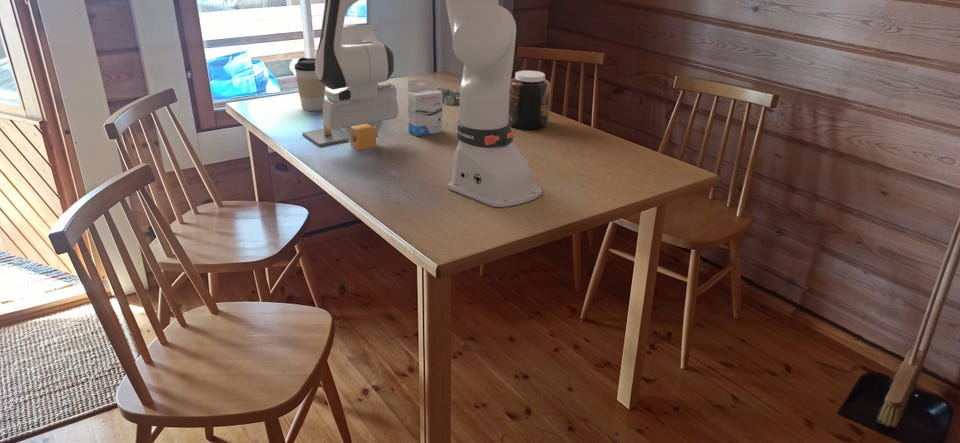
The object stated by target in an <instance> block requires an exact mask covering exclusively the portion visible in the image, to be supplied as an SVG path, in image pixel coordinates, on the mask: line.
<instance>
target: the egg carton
mask: <svg viewBox="0 0 960 443" xmlns="http://www.w3.org/2000/svg"><path fill="white" fill-rule="evenodd" d="M435 89H437V90H440V91H442V103H444V105H446V106H447V105H450V106H453V105H455V104H460V90H455V89H454V90H452V89H449V88H447V87H446V88H444V87H441V88H437V87H436V88H435Z"/></svg>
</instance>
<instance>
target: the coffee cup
mask: <svg viewBox="0 0 960 443" xmlns="http://www.w3.org/2000/svg"><path fill="white" fill-rule="evenodd" d="M315 60H316V57H315V58H314V57H313V58H312V57H309V58H308V57H300V58H298V60H297V63H295V64H294V70H295V75H296V76H295V78H296V83H297V89H298V93H299V94H298V95H299V98H300V99H299V100H300V103H301V109H302V111H306V112H316V111H323V104H324V101H325V100H326V98H325V97H326V96H325V94H324V90H325V89H326V86H325V85H323V84H322V83H321V82H320V81H319V80H318V78H317V75H316V71H315Z"/></svg>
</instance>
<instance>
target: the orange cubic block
mask: <svg viewBox="0 0 960 443" xmlns="http://www.w3.org/2000/svg"><path fill="white" fill-rule="evenodd" d="M351 128H352V130H350V132H351V134H354V135H355V136H356V142H352V143H350V145H351V146H352V147H354V148H355V149H357V150H358V151H361V150H367V149H372V148H376V147H377V138H376V128H374V126H373V125H370V124H369V123H367V124H362V125H356V126H351Z"/></svg>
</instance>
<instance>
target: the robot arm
mask: <svg viewBox="0 0 960 443" xmlns="http://www.w3.org/2000/svg"><path fill="white" fill-rule="evenodd" d="M358 1H360V0H325V1H324V7H323V8H324V9H323V16H322V23H321V30H320V37H319V43H318V47H317V50H316V55H315V59H316V60H315V71H316V75H317V78H318V80H319V81H320V82H321V83H322V84H323V85H325V90H324V94H325V97H326V98H325V101H324V104H323V109H322V119H323V120H322V122H323V123H324V125H325V126H326V127H327V128H329V129H331V130H335V129H343V131H344V132H346V134H347V135H348V141H347V142H348V143H350V144H351V143H352V142H356V136H355V135H354V134H351V132H350V130H352V128H351V126H356V125H362V124H373V127H374V128H376V139H378V138H379V130H380V128H381V126H382V122H383V121H388V120H389V121H390V120H393V119H396V118H397V117H398V115H399V106H398V100H397V88H396V86H395V85H394V84H392V83H385V84H378V85H377V83H384V82H387V81H389V79H390V78H391V77H392V75H393V73H394V71H395V62H394V61H395V60H394V52H393V51H392V49H391V48H390V47H388V46H387V45H386V44H385V43H383V42H380V41H379V39H377V38H376V36H375V31H374V27H373V25H372V24H370V23H366V22H365V23H364V22H362V23H359V22H358V23H348V24H345V17H346V13H347V12H348V10H349V9H350V8H351V6H353V5H354V4H355V3H357V2H358ZM445 5H446V10H447V16H448V22H449V26H450V31H451V36H452V40H451V41H452V50H453V53H454V56H455V57H456V58H457V59H458V61H459V62H460V63H462V64H463V69H462V75H461V76H462V77H461V82H460V85H459V91H460V103H459V120H458V122H457V127H456V133H457V135H456V136H457V139H458V143H457V146H456V149H455V150H454V154H453V162H452V172H451V174H452V175H451V180H449V182H448V184H447V189H448V190H451V191H454V192H455V193H459V194H460V195H463V196H466V197H468V198H471V199H473V200H476V201H479V202H481V203H484V204H486V205H488V206H491V207H494V208H499V207H500V208H504V207H511V206H516V205H521V204H524V203H527V202H530V201H533V200H535V199H537V198H538V197H541V195H542V194H543V191H542V188H540V187H539V186H538V185H537V184H535V183H534V182H532V169H531V167H530V163H529V160H528V159H527V158H525V157H523V155H522V154H521V152H520V151H519V149H518V147H517V146H516V145H515V143H514V138H515V137H516V135H515V134H516V133H517V132H516V131H512V127H510V123H509V122H508V118H509V95H510V83H511V79H512V76H513V74H512V73H513V67H514V58H515V48H516V39H517V38H516V37H517V25H516V24H517V23H516V20H515V18H514V16H513V14H512V13H511V12H510V11H509V10H508V9H507V8H505V7H503V6H501V5H499V0H445Z"/></svg>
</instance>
